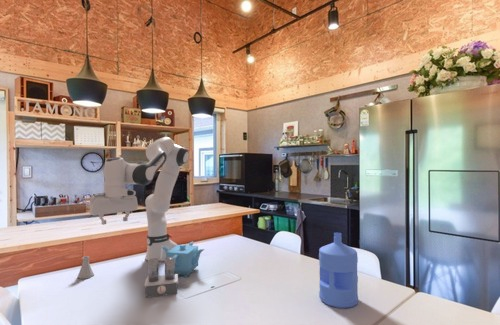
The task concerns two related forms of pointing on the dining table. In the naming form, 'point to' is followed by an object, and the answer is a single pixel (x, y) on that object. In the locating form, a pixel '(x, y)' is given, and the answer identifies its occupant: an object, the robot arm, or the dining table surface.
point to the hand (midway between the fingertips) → (114, 222)
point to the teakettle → (184, 258)
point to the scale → (161, 286)
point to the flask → (85, 269)
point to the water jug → (338, 274)
